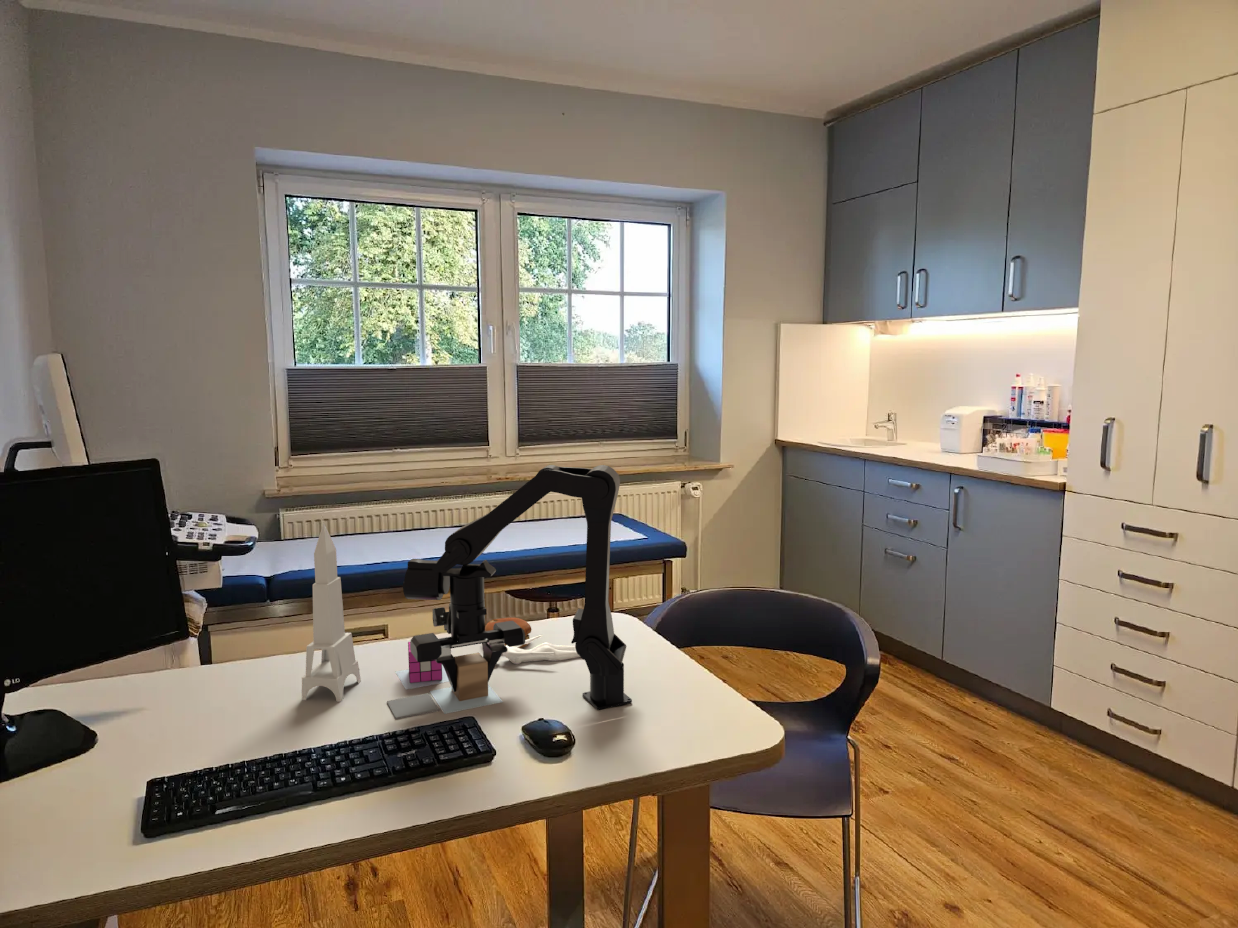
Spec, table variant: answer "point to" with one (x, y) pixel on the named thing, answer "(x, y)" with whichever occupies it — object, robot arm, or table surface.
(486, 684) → the walnut block
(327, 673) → the sculpture
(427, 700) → the pad
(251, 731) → the table surface
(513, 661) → the figurine
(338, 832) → the table surface
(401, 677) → the code card
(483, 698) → the code card
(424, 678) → the puzzle toy
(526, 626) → the burger
